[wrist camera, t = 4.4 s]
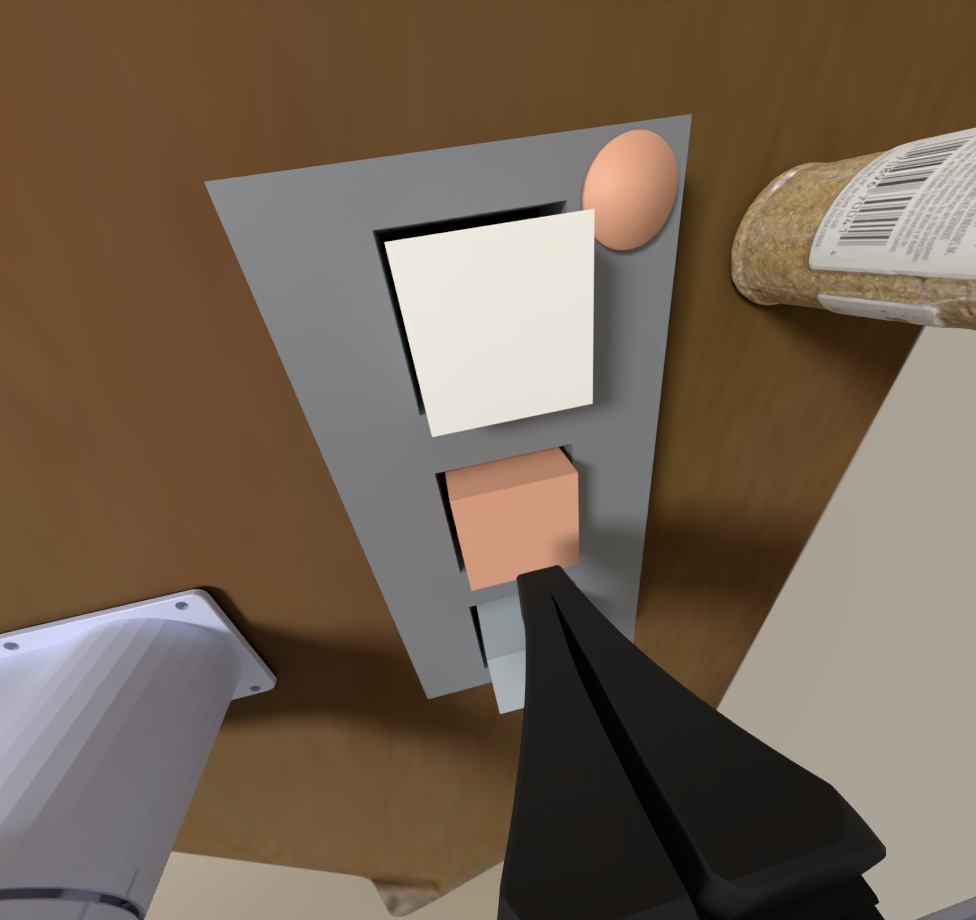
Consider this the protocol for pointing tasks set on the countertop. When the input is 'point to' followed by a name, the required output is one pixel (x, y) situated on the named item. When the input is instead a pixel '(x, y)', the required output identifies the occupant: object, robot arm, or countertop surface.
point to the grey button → (505, 650)
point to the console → (389, 374)
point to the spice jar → (869, 235)
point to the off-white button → (499, 318)
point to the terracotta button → (515, 515)
